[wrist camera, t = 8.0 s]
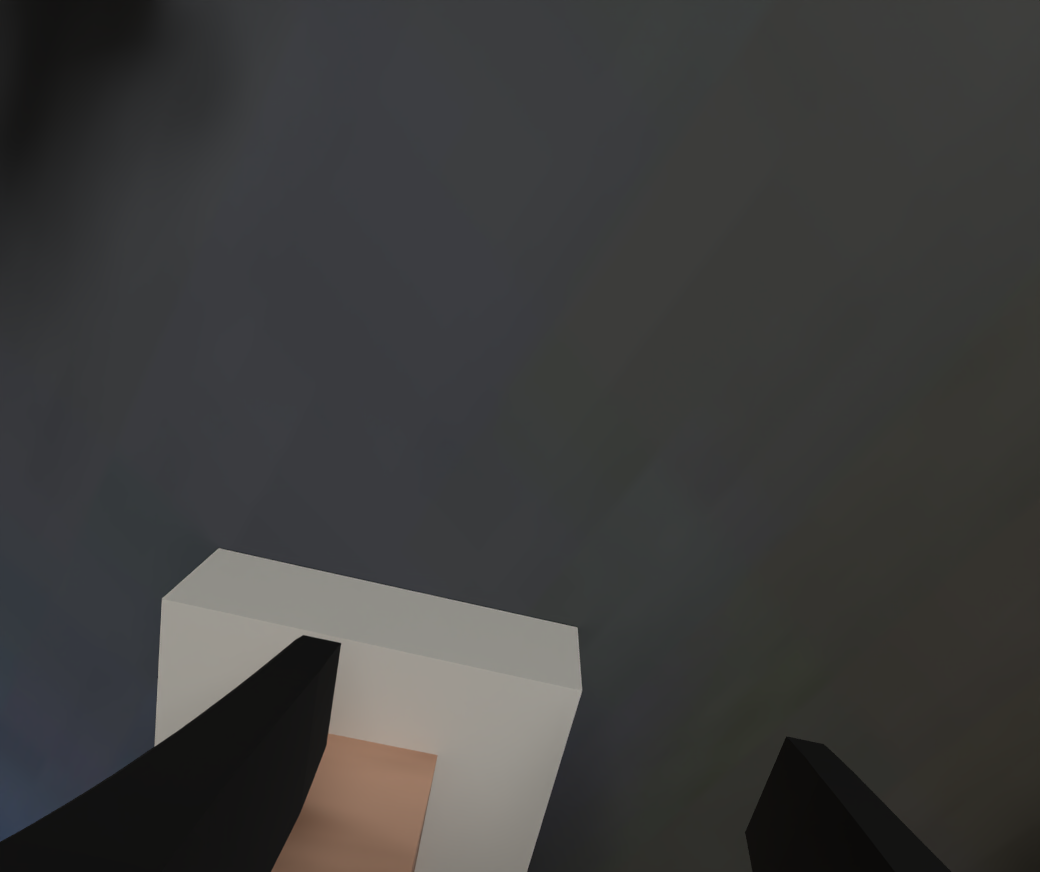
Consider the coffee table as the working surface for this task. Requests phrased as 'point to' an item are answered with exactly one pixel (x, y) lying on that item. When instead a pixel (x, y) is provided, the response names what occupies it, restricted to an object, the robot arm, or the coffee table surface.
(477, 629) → the plinth
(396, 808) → the terracotta cube
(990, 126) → the coffee table surface
